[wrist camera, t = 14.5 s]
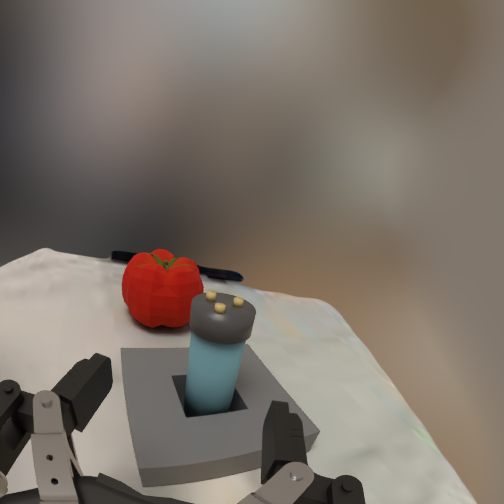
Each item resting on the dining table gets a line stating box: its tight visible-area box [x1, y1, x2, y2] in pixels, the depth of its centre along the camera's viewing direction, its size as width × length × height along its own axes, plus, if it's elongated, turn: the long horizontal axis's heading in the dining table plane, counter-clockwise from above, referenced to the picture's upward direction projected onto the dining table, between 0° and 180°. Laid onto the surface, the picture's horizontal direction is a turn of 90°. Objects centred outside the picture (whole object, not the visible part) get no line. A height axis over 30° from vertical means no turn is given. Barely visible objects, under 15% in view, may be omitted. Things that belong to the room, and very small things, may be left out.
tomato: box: [122, 249, 204, 328], centre depth 42 cm, size 14×13×10 cm
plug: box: [183, 291, 256, 418], centre depth 23 cm, size 5×5×14 cm
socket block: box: [121, 344, 320, 487], centre depth 25 cm, size 16×16×4 cm
